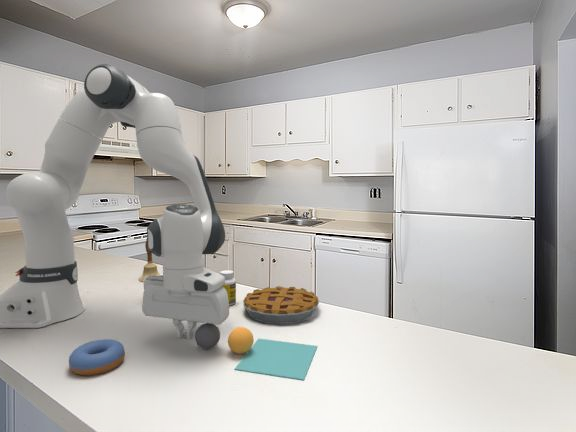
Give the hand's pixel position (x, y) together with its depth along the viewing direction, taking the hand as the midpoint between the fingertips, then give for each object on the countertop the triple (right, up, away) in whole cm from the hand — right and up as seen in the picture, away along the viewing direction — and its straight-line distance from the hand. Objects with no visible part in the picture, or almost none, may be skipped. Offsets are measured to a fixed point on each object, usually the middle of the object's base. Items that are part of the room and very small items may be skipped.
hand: (185, 337), depth 80 cm
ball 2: (+13, +1, -4) cm, 13 cm away
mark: (+21, -2, -5) cm, 22 cm away
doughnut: (-15, -3, -8) cm, 18 cm away
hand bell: (-28, +3, +53) cm, 60 cm away
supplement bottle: (+5, +1, +27) cm, 28 cm away
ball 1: (+5, +1, -1) cm, 6 cm away
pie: (+21, 0, +22) cm, 30 cm away
